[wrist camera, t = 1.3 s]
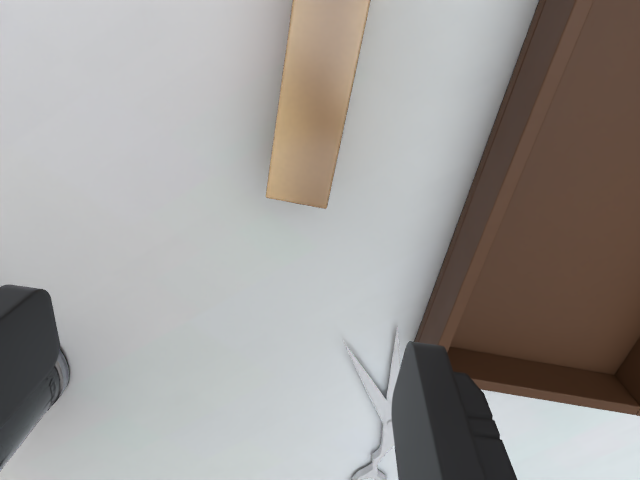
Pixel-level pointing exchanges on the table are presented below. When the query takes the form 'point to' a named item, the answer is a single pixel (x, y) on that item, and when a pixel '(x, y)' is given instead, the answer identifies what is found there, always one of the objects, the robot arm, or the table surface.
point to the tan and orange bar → (314, 98)
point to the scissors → (379, 412)
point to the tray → (554, 221)
